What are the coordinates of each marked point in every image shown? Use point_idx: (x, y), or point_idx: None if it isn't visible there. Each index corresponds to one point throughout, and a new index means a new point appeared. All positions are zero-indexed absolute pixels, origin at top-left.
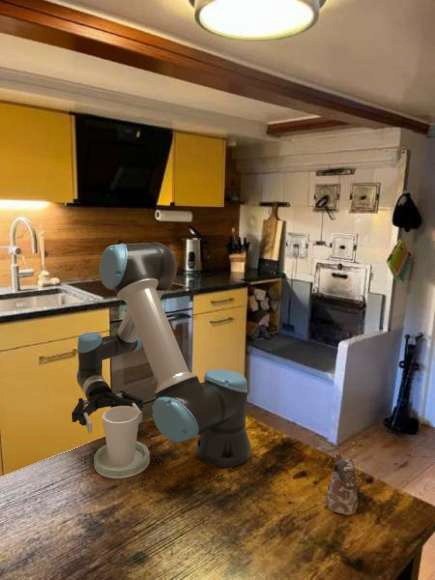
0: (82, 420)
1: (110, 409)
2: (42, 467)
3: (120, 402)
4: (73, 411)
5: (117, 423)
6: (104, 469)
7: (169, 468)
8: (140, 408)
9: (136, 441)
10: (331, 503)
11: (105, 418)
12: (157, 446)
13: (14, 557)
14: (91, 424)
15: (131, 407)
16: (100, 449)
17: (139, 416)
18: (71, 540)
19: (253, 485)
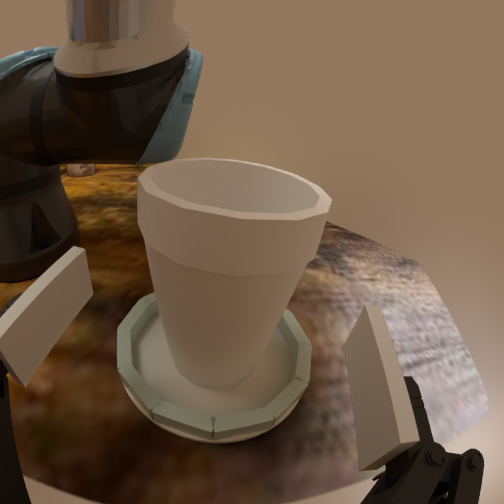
0: (413, 382)
1: (268, 213)
2: (441, 437)
3: (3, 480)
4: (477, 486)
5: (279, 170)
6: (293, 316)
7: (135, 273)
8: (17, 298)
9: (120, 367)
10: (93, 166)
11: (319, 192)
12: (73, 345)
13: (417, 269)
14: (364, 310)
15: (148, 181)
16: (274, 408)
17: (87, 266)
18: (360, 256)
19: (94, 202)
